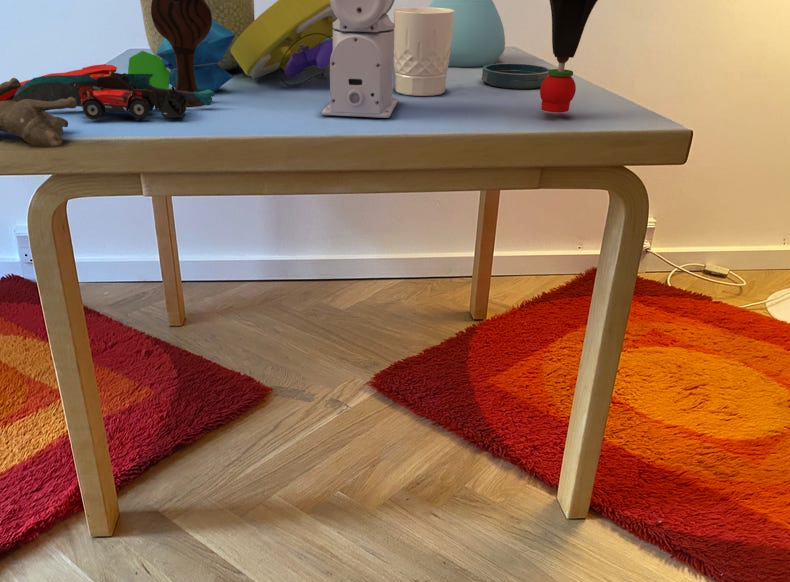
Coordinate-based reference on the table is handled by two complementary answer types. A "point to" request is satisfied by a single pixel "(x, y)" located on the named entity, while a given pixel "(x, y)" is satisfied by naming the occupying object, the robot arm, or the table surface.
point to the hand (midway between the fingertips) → (563, 55)
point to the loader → (126, 98)
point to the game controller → (309, 58)
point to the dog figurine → (33, 118)
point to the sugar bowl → (474, 32)
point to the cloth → (84, 71)
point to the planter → (227, 8)
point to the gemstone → (150, 69)
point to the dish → (514, 75)
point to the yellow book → (282, 34)
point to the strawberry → (558, 89)
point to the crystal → (203, 59)
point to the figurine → (183, 35)
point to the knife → (64, 88)
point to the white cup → (422, 49)
